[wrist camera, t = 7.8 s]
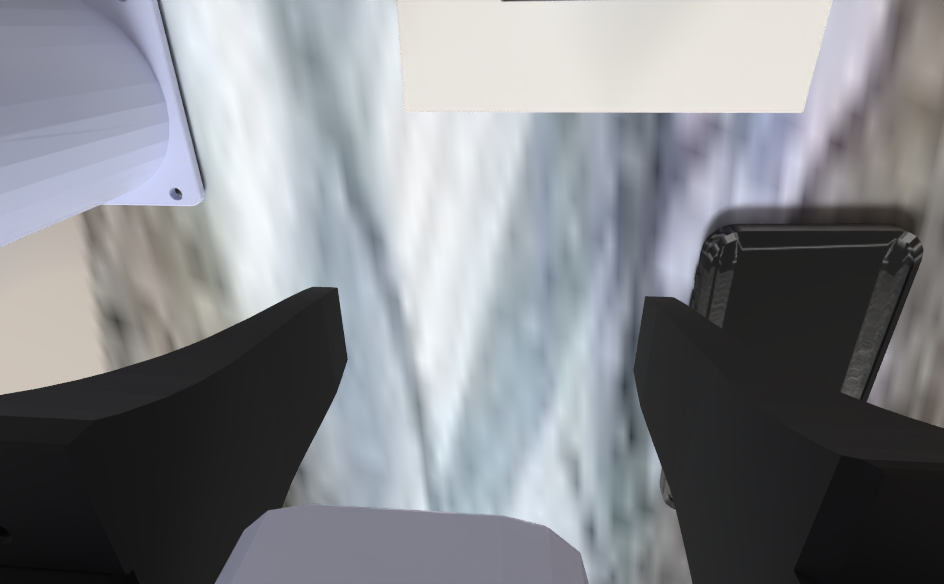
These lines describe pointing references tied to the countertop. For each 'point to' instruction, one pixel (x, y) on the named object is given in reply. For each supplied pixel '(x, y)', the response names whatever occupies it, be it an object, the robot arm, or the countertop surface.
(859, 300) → the phone
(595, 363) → the countertop surface
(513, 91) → the block
